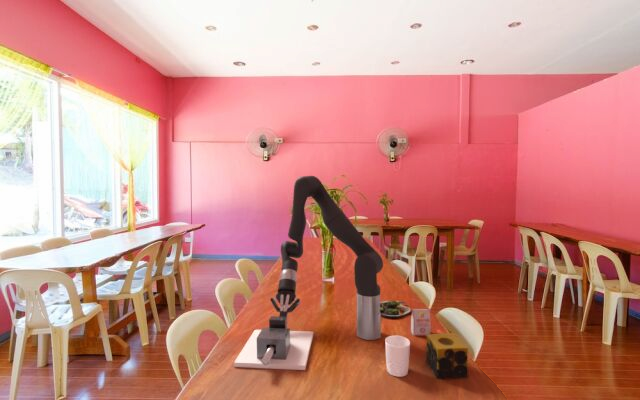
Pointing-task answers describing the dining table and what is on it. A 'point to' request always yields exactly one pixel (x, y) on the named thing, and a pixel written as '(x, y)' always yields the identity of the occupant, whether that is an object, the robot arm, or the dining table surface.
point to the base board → (294, 360)
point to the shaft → (274, 323)
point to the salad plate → (393, 309)
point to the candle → (447, 356)
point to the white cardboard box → (420, 322)
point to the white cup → (397, 355)
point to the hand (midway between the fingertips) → (282, 321)
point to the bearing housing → (274, 342)
